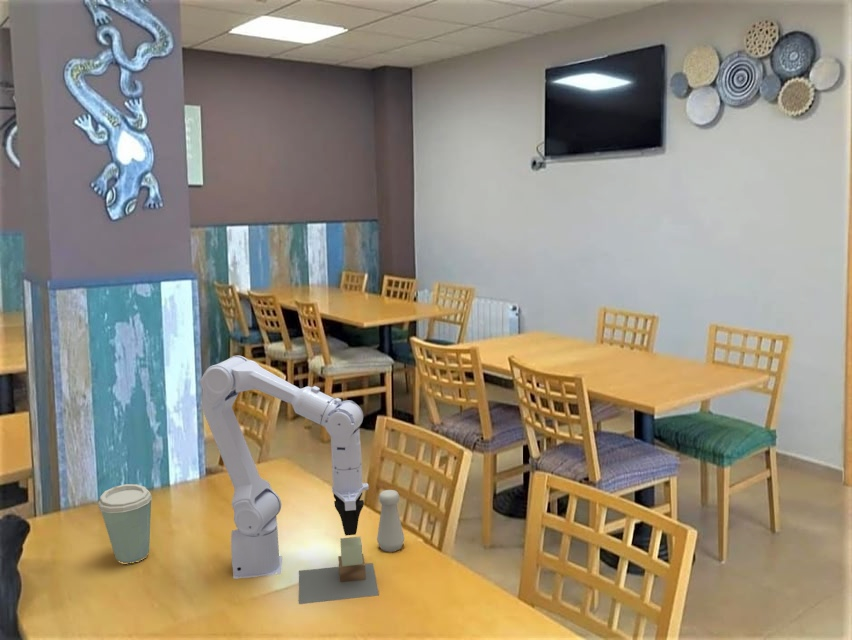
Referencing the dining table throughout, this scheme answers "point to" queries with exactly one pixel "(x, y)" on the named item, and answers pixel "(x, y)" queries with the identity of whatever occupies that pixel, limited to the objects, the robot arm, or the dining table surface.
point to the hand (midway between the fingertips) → (350, 530)
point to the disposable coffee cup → (127, 520)
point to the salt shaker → (390, 522)
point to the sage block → (351, 551)
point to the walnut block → (351, 571)
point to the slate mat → (334, 585)
